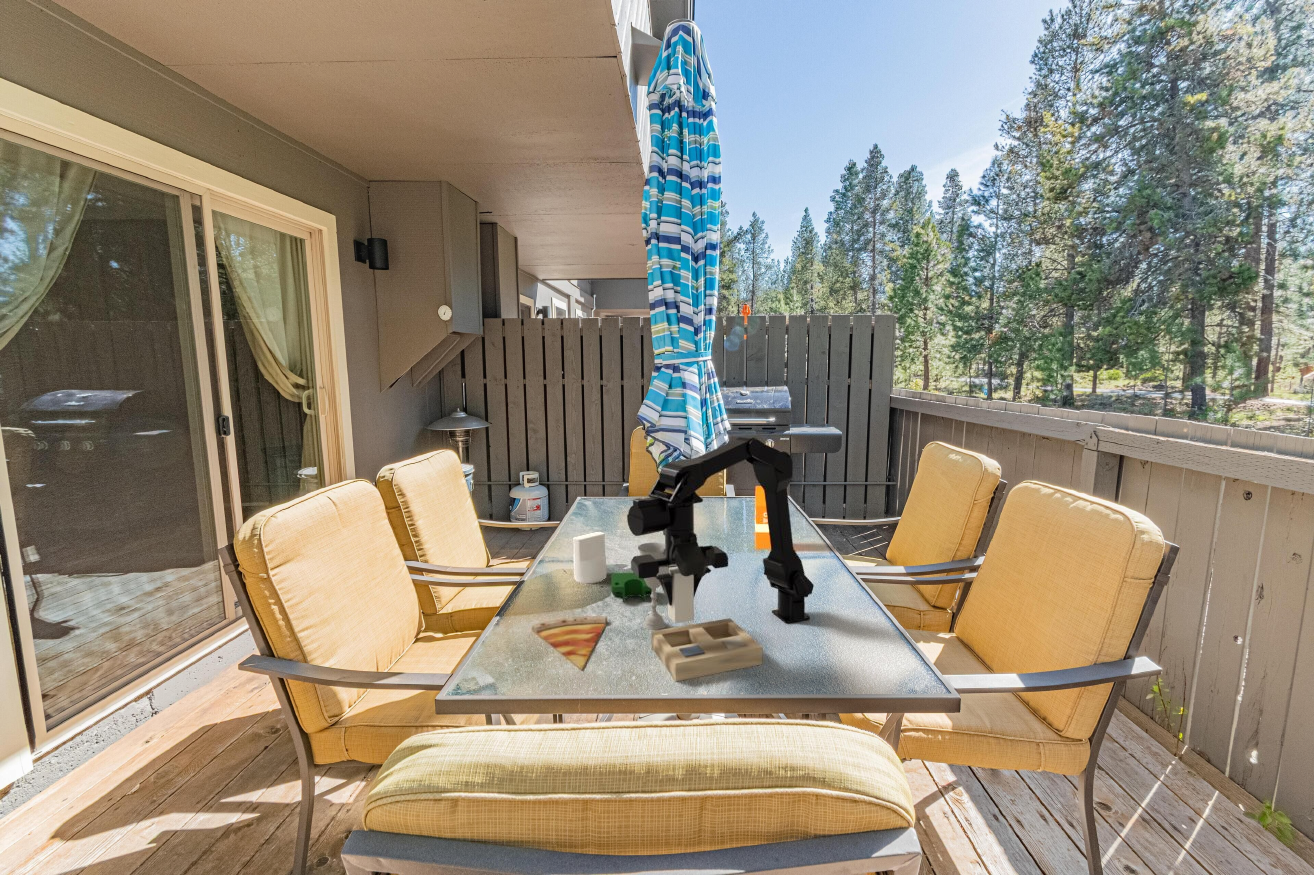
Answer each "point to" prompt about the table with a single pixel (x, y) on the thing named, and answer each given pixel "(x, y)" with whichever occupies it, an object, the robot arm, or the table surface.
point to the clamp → (629, 585)
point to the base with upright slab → (589, 558)
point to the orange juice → (761, 521)
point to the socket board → (705, 649)
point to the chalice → (653, 585)
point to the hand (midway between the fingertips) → (680, 603)
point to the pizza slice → (572, 636)
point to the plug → (681, 597)
